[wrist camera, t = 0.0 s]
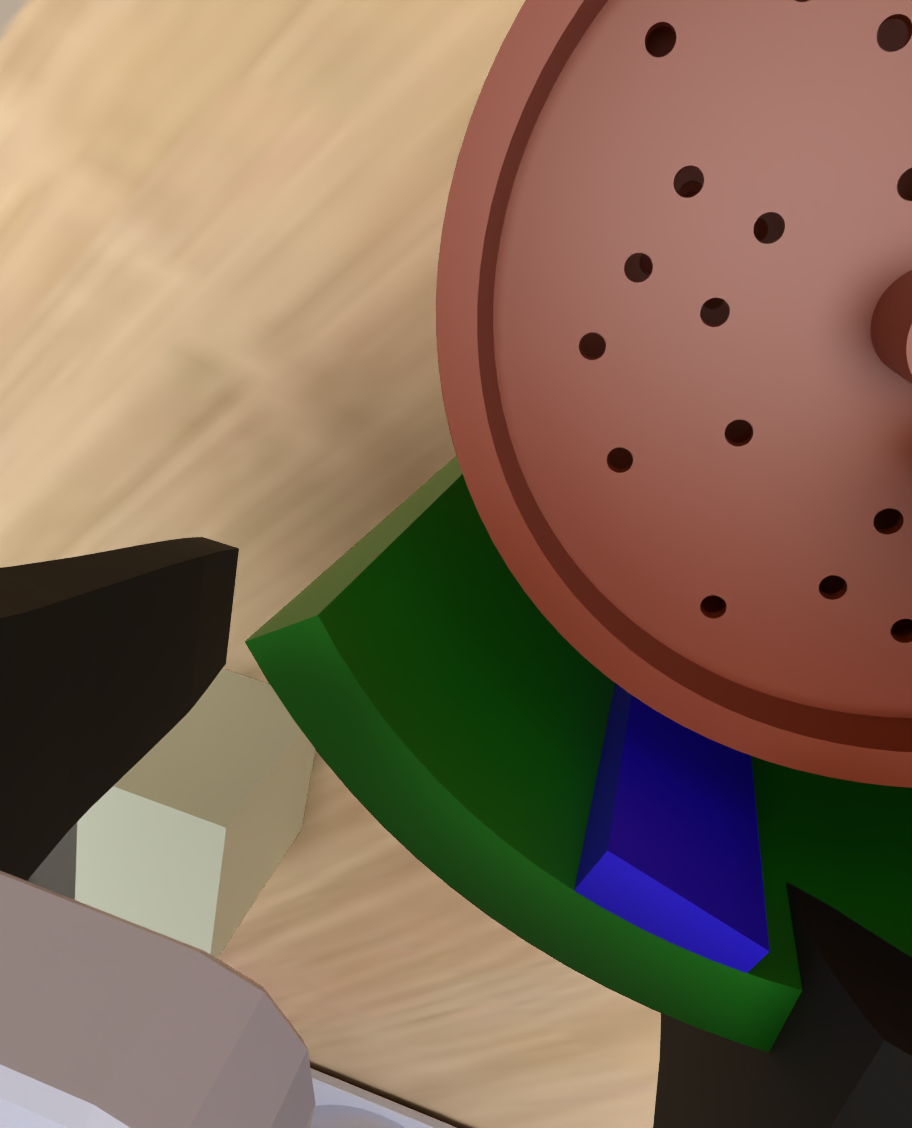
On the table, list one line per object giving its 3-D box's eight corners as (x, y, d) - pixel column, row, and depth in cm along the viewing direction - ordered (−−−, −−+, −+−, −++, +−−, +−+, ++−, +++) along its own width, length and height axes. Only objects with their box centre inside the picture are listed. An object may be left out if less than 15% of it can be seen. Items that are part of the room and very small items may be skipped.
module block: (302, 827, 28) (208, 972, 22) (192, 787, 28) (74, 920, 23) (323, 702, 26) (226, 827, 20) (204, 662, 26) (78, 773, 21)
